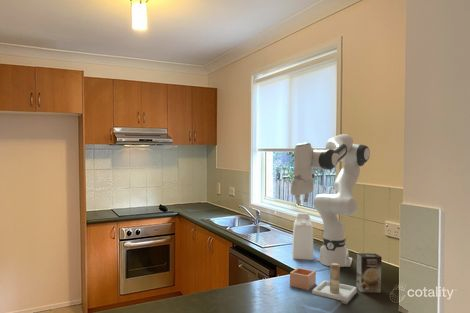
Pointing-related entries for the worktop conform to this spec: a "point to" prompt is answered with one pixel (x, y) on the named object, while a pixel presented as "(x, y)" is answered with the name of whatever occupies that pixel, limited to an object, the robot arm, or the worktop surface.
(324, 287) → the tray
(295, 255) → the milk
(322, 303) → the worktop surface
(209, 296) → the worktop surface
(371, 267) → the coffee box
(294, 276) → the orange open box
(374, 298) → the worktop surface
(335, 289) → the pin
